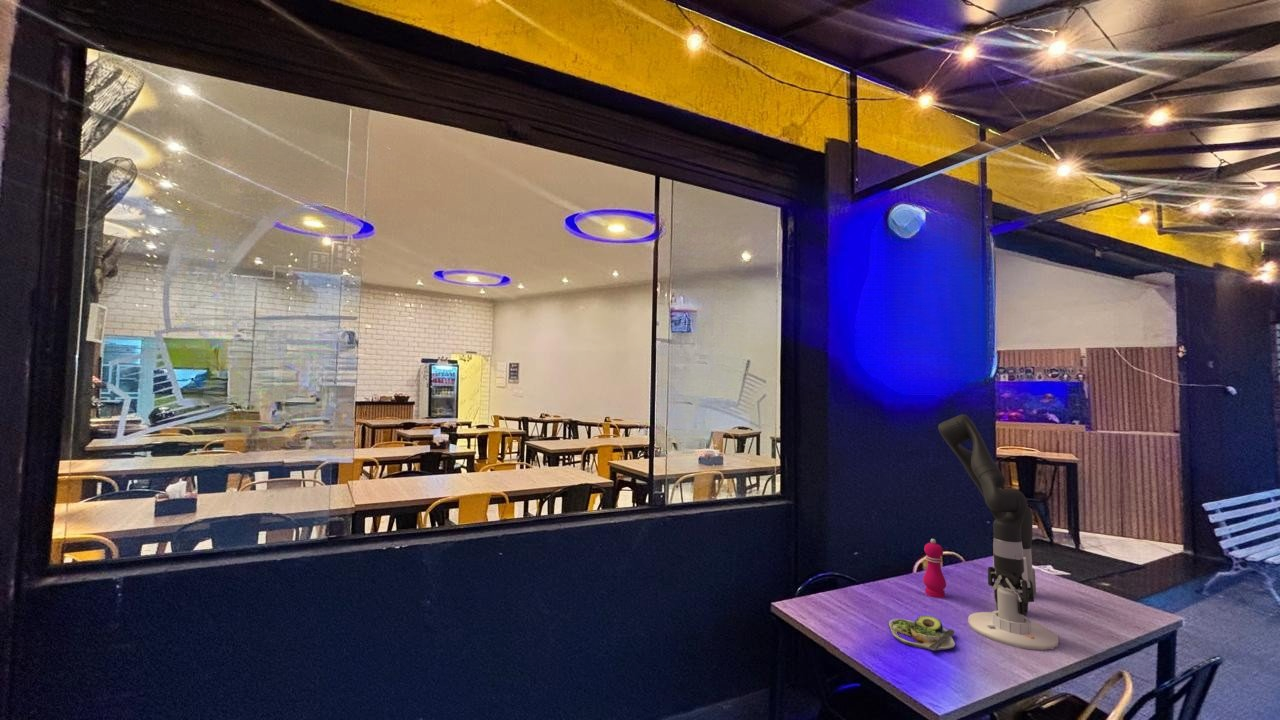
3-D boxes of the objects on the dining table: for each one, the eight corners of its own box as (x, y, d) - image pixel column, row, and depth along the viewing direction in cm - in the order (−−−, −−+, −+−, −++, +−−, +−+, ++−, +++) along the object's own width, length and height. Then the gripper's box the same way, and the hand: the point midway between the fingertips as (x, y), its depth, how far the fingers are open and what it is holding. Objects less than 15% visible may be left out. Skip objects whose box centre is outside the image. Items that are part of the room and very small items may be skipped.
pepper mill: (919, 592, 182) (917, 537, 184) (932, 589, 185) (930, 535, 187) (938, 599, 175) (936, 542, 177) (951, 596, 178) (949, 540, 180)
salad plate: (967, 662, 133) (966, 644, 133) (893, 649, 139) (892, 632, 140) (952, 632, 151) (951, 616, 151) (887, 621, 157) (886, 606, 158)
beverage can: (1000, 621, 155) (999, 581, 156) (1026, 628, 150) (1024, 587, 151) (996, 627, 150) (994, 586, 151) (1022, 634, 146) (1020, 593, 147)
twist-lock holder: (1014, 616, 162) (1013, 602, 163) (1079, 649, 141) (1078, 632, 141) (952, 617, 160) (951, 603, 161) (1008, 651, 139) (1007, 634, 139)
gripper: (979, 547, 159) (981, 599, 158) (1016, 561, 145) (1019, 618, 144) (1000, 547, 160) (1002, 599, 159) (1039, 561, 146) (1043, 618, 144)
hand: (1010, 608), depth 151 cm, fingers open, 8 cm apart
